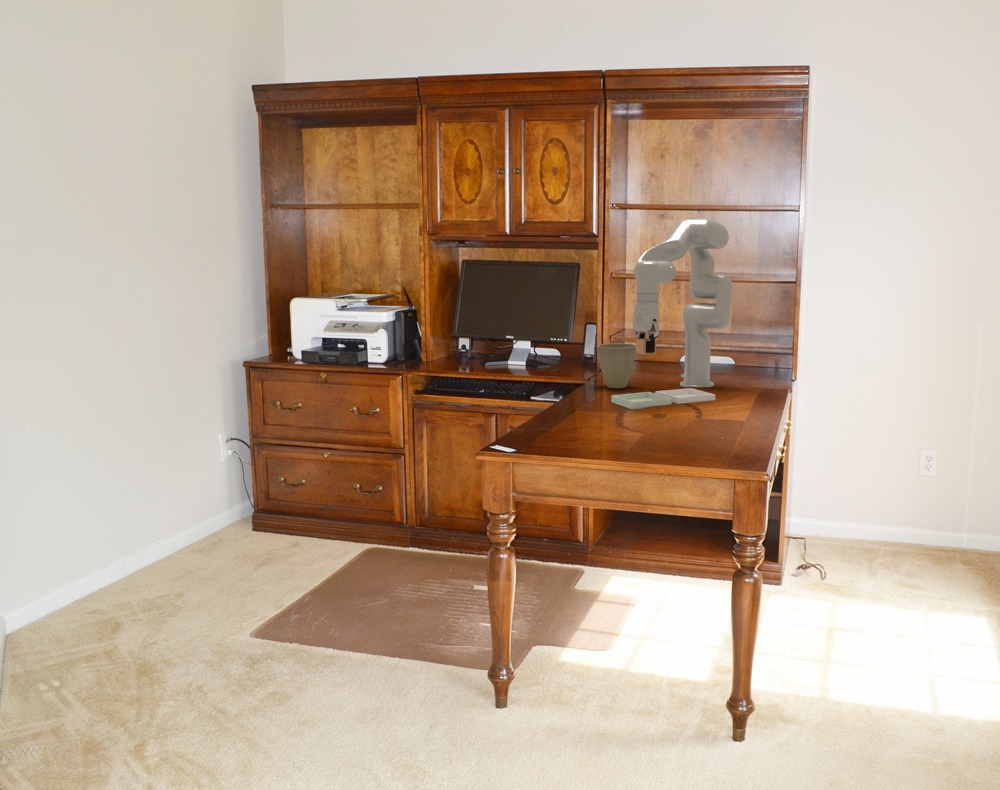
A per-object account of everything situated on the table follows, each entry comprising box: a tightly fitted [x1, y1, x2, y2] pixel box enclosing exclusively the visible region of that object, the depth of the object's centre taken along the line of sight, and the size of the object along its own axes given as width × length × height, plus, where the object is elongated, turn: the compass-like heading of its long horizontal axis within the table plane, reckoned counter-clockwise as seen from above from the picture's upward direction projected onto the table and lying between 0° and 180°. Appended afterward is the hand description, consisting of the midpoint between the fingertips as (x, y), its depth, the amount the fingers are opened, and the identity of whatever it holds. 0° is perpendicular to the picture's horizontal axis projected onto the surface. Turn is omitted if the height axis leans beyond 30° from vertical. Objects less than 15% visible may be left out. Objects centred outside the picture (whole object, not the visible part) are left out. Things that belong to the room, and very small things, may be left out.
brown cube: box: [635, 337, 657, 356], centre depth 325 cm, size 5×5×5 cm
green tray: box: [610, 391, 673, 410], centre depth 327 cm, size 15×15×2 cm
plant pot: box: [596, 342, 637, 389], centre depth 361 cm, size 15×15×16 cm
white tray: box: [654, 387, 716, 405], centre depth 333 cm, size 15×15×2 cm
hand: (645, 351), depth 325 cm, fingers closed on brown cube, 4 cm apart
